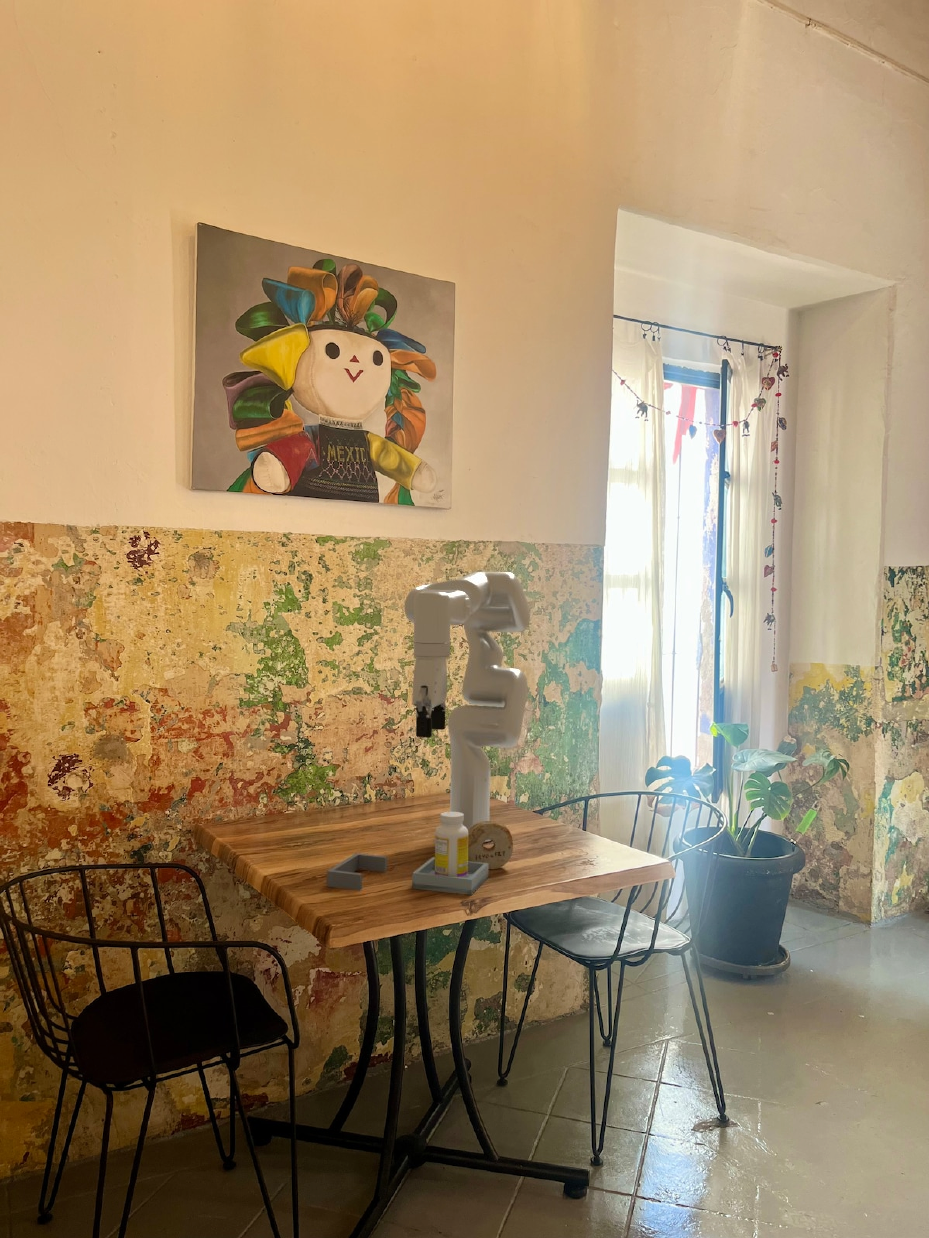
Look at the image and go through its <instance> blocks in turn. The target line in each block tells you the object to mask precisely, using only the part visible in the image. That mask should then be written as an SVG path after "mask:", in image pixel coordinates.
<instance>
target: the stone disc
mask: <svg viewBox="0 0 929 1238" xmlns="http://www.w3.org/2000/svg"><path fill="white" fill-rule="evenodd" d="M488 839H490V840H491V841H492V842H493V845H492V847H490V848H488V847H486V846H484V843H485V842H484V841H485V840H488ZM513 841H514V840H513V836H512V833H511V832H510V829H509V828H508V827H507V826H506V825H504V824H503V823H501V822H497V821H495V820H493V821H490V820H489V821H483V822H478V823H476V824H475V825H473V826H472V827H471V828H470V829H469V831H468V861H472V862H482V863H489V868H488V869H489V870H498V869H500V868H502V867H504V866H505V865H506V864H507V863H508V862H509V860H510V859H511V857H512V855H513V851H514V844H513Z"/></svg>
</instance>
